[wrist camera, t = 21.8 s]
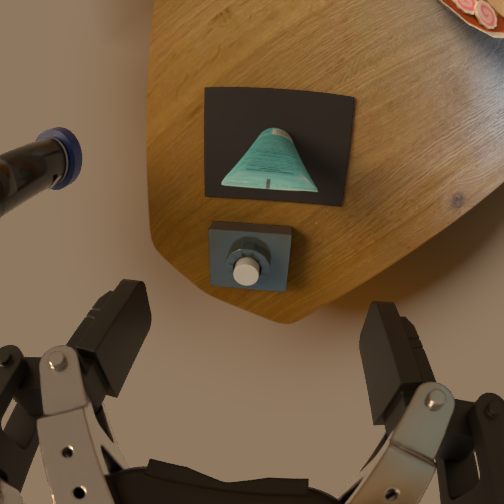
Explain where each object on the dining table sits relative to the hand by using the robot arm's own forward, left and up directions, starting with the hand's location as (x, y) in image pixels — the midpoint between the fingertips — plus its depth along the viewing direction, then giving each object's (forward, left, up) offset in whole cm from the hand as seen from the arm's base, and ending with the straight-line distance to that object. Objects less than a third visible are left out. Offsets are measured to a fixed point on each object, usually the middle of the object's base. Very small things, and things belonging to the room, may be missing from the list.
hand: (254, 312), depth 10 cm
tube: (0, 0, -34) cm, 34 cm away
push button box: (-3, -17, -34) cm, 38 cm away
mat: (0, 0, -34) cm, 34 cm away
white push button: (-3, -17, -30) cm, 34 cm away
